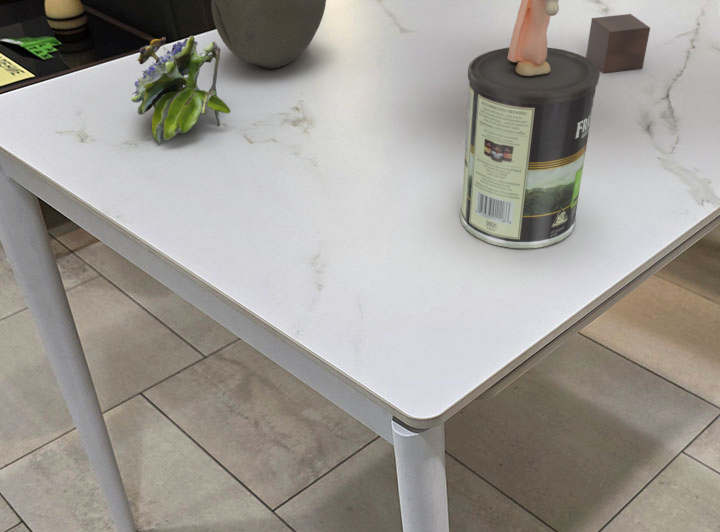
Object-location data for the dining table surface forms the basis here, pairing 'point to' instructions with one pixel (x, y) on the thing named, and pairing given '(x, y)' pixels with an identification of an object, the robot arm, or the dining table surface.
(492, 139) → the coffee can
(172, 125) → the passion flower
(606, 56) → the walnut block
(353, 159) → the dining table surface
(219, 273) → the dining table surface
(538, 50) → the grandmother figurine
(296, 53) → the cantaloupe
